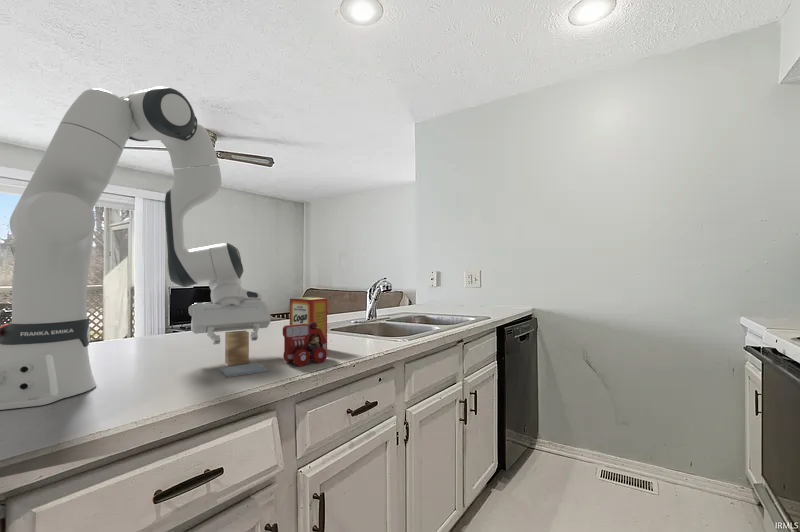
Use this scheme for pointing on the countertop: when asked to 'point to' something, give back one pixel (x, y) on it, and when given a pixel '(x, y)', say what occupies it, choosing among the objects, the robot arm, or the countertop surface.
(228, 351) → the block
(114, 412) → the countertop surface
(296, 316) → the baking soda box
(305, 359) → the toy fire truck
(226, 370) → the mat
